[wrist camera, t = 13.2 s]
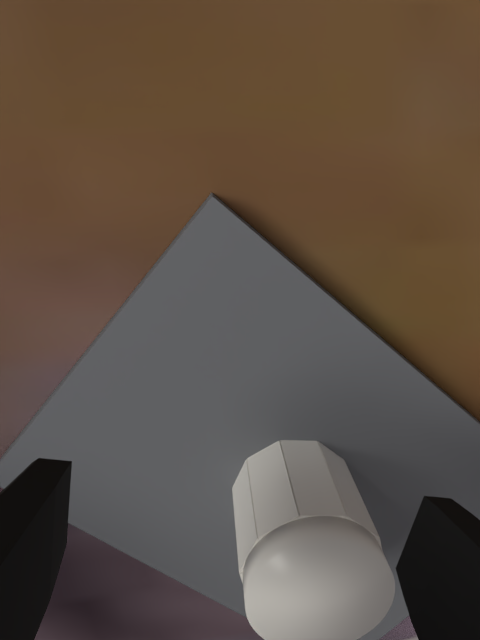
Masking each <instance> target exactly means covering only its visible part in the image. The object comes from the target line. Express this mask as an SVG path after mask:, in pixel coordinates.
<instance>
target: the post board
mask: <svg viewBox="0 0 480 640" xmlns="http://www.w3.org/2000/svg"><path fill="white" fill-rule="evenodd" d="M280 440H304V441H317V442H318V441H319V442H320V443H321V444H323V445H324V446H326V447H327V448H328V449H330V450H331V451H333V452H334V453H335V454H337V455H338V456H339V457H341V458H342V459H344V461H345V463H346V465H347V467H348V469H349V471H350V473H351V476H352V478H353V480H354V482H355V484H356V487H357V489H358V491H359V493H360V495H361V498H362V500H363V502H364V504H365V506H366V509H367V511H368V513H369V515H370V517H371V519H372V522H373V524H374V526H375V528H376V530H377V533H378V535H379V537H380V540H381V546H382V551H383V553H384V556H385V558H386V560H387V562H388V564H389V567H390V569H391V571H392V573H393V576H394V580H395V595H394V599H393V602H392V605H391V607H390V609H389V611H388V612H387V614H386V615H385V617H384V618H383V619H382V620H381V622H380V623H379V624H378V625H377V626H376V627H375V628H373V629H372V630H371V631H370V632H368V633H367V634H365V635H364V636H362V637H360V638H359V639H357V640H379V639H380V638H381V637H383V636H384V635H385V634H386V633H388V632H389V631H390V630H391V629H393V628H394V627H395V626H396V625H397V624H399V623H400V622H401V621H402V620H404V619H405V618H406V617H407V616H409V612H408V609H407V606H406V603H405V600H404V597H403V593H402V590H401V586H400V583H399V579H398V575H397V572H396V566H397V563H398V561H399V558H400V556H401V553H402V551H403V548H404V546H405V543H406V540H407V538H408V535H409V533H410V530H411V528H412V525H413V523H414V520H415V518H416V515H417V513H418V510H419V507H420V505H421V502H422V500H423V497H424V496H432V497H442V498H451V499H453V500H454V501H455V502H457V503H458V504H460V505H461V506H462V507H464V508H465V509H466V510H468V511H469V512H470V513H472V514H473V515H474V516H475V517H477V518H478V519H479V520H480V422H479V421H478V420H477V419H476V418H475V417H473V416H472V415H471V414H470V413H469V412H468V411H466V410H465V409H464V408H463V407H462V406H461V405H459V404H458V403H457V402H456V401H455V400H454V399H452V398H451V397H450V396H449V395H448V394H447V393H445V392H444V391H443V390H442V389H441V388H440V387H438V386H437V385H436V384H435V383H434V382H433V381H431V380H430V379H429V378H428V377H427V376H426V375H424V374H423V373H422V372H421V371H420V370H419V369H417V368H416V367H415V366H414V365H413V364H412V363H410V362H409V361H408V360H407V359H406V358H405V357H403V356H402V355H401V354H400V353H399V352H398V351H396V350H395V349H394V348H393V347H392V346H391V345H389V344H388V343H387V342H386V341H385V340H383V339H382V338H381V337H380V336H379V335H378V334H376V333H375V332H374V331H373V330H372V329H371V328H369V327H368V326H367V325H366V324H365V323H364V322H362V321H361V320H360V319H359V318H358V317H357V316H355V315H354V314H353V313H352V312H351V311H350V310H348V309H347V308H346V307H345V306H344V305H343V304H341V303H340V302H339V301H338V300H337V299H336V298H334V297H333V296H332V295H331V294H330V293H329V292H327V291H326V290H325V289H324V288H323V287H322V286H320V285H319V284H318V283H317V282H316V281H315V280H313V279H312V278H311V277H310V276H309V275H308V274H306V273H305V272H304V271H303V270H302V269H301V268H299V267H298V266H297V265H296V264H295V263H294V262H292V261H291V260H290V259H289V258H288V257H286V256H285V255H284V254H283V253H282V252H281V251H279V250H278V249H277V248H276V247H275V246H274V245H272V244H271V243H270V242H269V241H268V240H267V239H265V238H264V237H263V236H262V235H261V234H260V233H258V232H257V231H256V230H255V229H254V228H253V227H251V226H250V225H249V224H248V223H247V222H246V221H244V220H243V219H242V218H241V217H240V216H239V215H237V214H236V213H235V212H234V211H233V210H232V209H230V208H229V207H228V206H227V205H226V204H225V203H223V202H222V201H221V200H220V199H219V198H218V197H216V196H215V195H214V194H213V193H211V194H210V195H209V196H208V198H207V199H206V200H205V201H204V203H203V204H202V205H201V206H200V208H199V209H198V210H197V212H196V213H195V214H194V215H193V217H192V218H191V219H190V220H189V222H188V223H187V224H186V225H185V227H184V228H183V229H182V230H181V232H180V233H179V234H178V235H177V237H176V238H175V239H174V240H173V242H172V243H171V244H170V246H169V247H168V248H167V249H166V251H165V252H164V253H163V254H162V256H161V257H160V258H159V259H158V261H157V262H156V263H155V264H154V266H153V267H152V268H151V269H150V271H149V272H148V273H147V274H146V276H145V277H144V278H143V280H142V281H141V282H140V283H139V285H138V286H137V287H136V288H135V290H134V291H133V292H132V293H131V295H130V296H129V297H128V298H127V300H126V301H125V302H124V303H123V305H122V306H121V307H120V308H119V310H118V311H117V312H116V313H115V315H114V316H113V317H112V319H111V320H110V321H109V322H108V324H107V325H106V326H105V327H104V329H103V330H102V331H101V332H100V334H99V335H98V336H97V337H96V339H95V340H94V341H93V342H92V344H91V345H90V346H89V347H88V349H87V350H86V351H85V353H84V354H83V355H82V356H81V358H80V359H79V360H78V361H77V363H76V364H75V365H74V366H73V368H72V369H71V370H70V371H69V373H68V374H67V375H66V376H65V378H64V379H63V380H62V381H61V383H60V384H59V385H58V387H57V388H56V389H55V390H54V392H53V393H52V394H51V395H50V397H49V398H48V399H47V400H46V402H45V403H44V404H43V405H42V407H41V408H40V409H39V410H38V412H37V413H36V414H35V415H34V417H33V418H32V419H31V420H30V422H29V423H28V424H27V426H26V427H25V428H24V429H23V431H22V432H21V433H20V434H19V436H18V437H17V438H16V439H15V441H14V442H13V443H12V444H11V446H10V447H9V448H8V449H7V451H6V452H5V453H4V454H3V456H2V457H1V459H0V487H1V488H3V489H5V488H6V487H7V486H8V485H9V484H10V483H11V482H12V481H13V480H14V479H15V478H16V477H17V476H18V475H20V474H21V473H22V472H23V471H24V470H25V469H26V468H27V467H28V466H29V465H30V464H31V463H32V462H34V461H35V460H36V459H38V458H45V459H55V460H65V461H72V468H71V483H70V498H69V513H68V523H69V524H71V525H73V526H75V527H77V528H79V529H80V530H82V531H84V532H86V533H88V534H90V535H92V536H94V537H96V538H97V539H99V540H101V541H103V542H105V543H107V544H109V545H111V546H112V547H114V548H116V549H118V550H120V551H122V552H124V553H126V554H128V555H129V556H131V557H133V558H135V559H137V560H139V561H141V562H143V563H144V564H146V565H148V566H150V567H152V568H154V569H156V570H158V571H160V572H161V573H163V574H165V575H167V576H169V577H171V578H173V579H175V580H176V581H178V582H180V583H182V584H184V585H186V586H188V587H190V588H192V589H193V590H195V591H197V592H199V593H201V594H203V595H205V596H207V597H208V598H210V599H212V600H214V601H216V602H218V603H220V604H222V605H224V606H225V607H227V608H229V609H231V610H233V611H235V612H237V613H239V614H240V615H242V616H244V617H246V618H247V616H246V611H245V602H244V591H243V583H242V580H241V577H240V574H239V566H238V554H237V542H236V530H235V518H234V506H233V493H232V487H233V485H234V483H235V481H236V479H237V477H238V475H239V473H240V471H241V469H242V467H243V464H244V462H245V460H246V459H247V458H248V457H250V456H252V455H254V454H255V453H257V452H259V451H261V450H263V449H264V448H266V447H268V446H270V445H272V444H273V443H275V442H277V441H280Z"/></svg>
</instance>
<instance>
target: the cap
mask: <svg viewBox="0 0 480 640" xmlns="http://www.w3.org/2000/svg"><path fill="white" fill-rule="evenodd" d="M232 493H233V506H234V518H235V530H236V542H237V554H238V566H239V574H240V577H241V580H242V583H243V591H244V602H245V611H246V616H247V619H248V621H249V623H250V625H251V626H252V628H253V629H254V630H255V632H256V633H257V634H258V635H259V636H261V637H262V638H263V639H265V640H357V639H359V638H360V637H362V636H364V635H365V634H367V633H368V632H370V631H371V630H372V629H373V628H375V627H376V626H377V625H378V624H379V623H380V622H381V620H382V619H383V618H384V617H385V615H386V614H387V612H388V611H389V609H390V607H391V605H392V602H393V599H394V595H395V580H394V576H393V573H392V571H391V569H390V567H389V564H388V562H387V560H386V558H385V556H384V553H383V551H382V546H381V540H380V537H379V535H378V533H377V530H376V528H375V526H374V524H373V522H372V519H371V517H370V515H369V513H368V511H367V509H366V506H365V504H364V502H363V500H362V498H361V495H360V493H359V491H358V489H357V487H356V484H355V482H354V480H353V478H352V476H351V473H350V471H349V469H348V467H347V465H346V463H345V461H344V459H342V458H341V457H339V456H338V455H337V454H335V453H334V452H333V451H331V450H330V449H328V448H327V447H326V446H324V445H323V444H321V443H320V442H319V441H318V442H317V441H304V440H280V441H277V442H275V443H273V444H272V445H270V446H268V447H266V448H264V449H263V450H261V451H259V452H257V453H255V454H254V455H252V456H250V457H248V458H247V459H246V460H245V462H244V464H243V467H242V469H241V471H240V473H239V475H238V477H237V479H236V481H235V483H234V485H233V487H232Z"/></svg>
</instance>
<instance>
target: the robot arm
mask: <svg viewBox="0 0 480 640" xmlns="http://www.w3.org/2000/svg"><path fill="white" fill-rule="evenodd" d="M71 468H72V461H65V460H55V459H45V458H38V459H36V460H35V461H34V462H32V463H31V464H30V465H29V466H28V467H27V468H26V469H25V470H24V471H23V472H22V473H21V474H20V475H18V476H17V477H16V478H15V479H14V480H13V481H12V482H11V483H10V484H9V485H8V486H7V487H6V488H5V489H4V490H3V491H1V492H0V640H34V639H35V636H36V634H37V631H38V629H39V626H40V624H41V621H42V619H43V616H44V614H45V611H46V609H47V606H48V604H49V601H50V598H51V595H52V591H53V588H54V585H55V581H56V578H57V575H58V571H59V568H60V564H61V561H62V558H63V554H64V551H65V547H66V543H67V528H68V513H69V498H70V483H71ZM396 572H397V575H398V579H399V583H400V586H401V590H402V593H403V597H404V600H405V603H406V606H407V609H408V612H409V616H410V619H411V622H412V624H413V627H414V629H415V632H416V634H417V636H418V639H419V640H480V520H479V519H478V518H477V517H475V516H474V515H473V514H472V513H470V512H469V511H468V510H466V509H465V508H464V507H462V506H461V505H460V504H458V503H457V502H455V501H454V500H453V499H451V498H442V497H432V496H424V497H423V500H422V502H421V505H420V507H419V510H418V513H417V515H416V518H415V520H414V523H413V525H412V528H411V530H410V533H409V535H408V538H407V540H406V543H405V546H404V548H403V551H402V553H401V556H400V558H399V561H398V563H397V566H396Z"/></svg>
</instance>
